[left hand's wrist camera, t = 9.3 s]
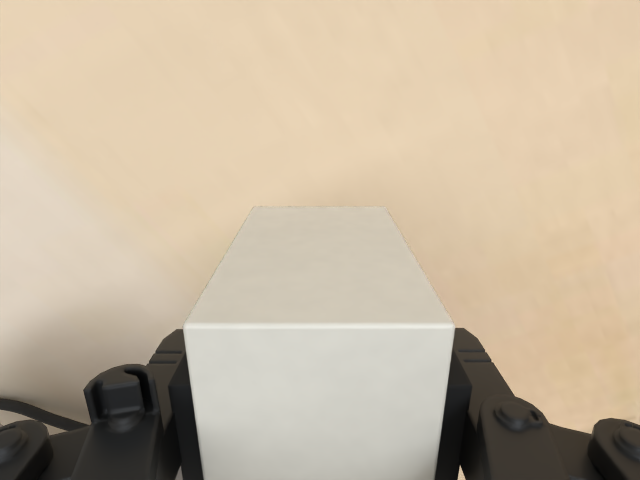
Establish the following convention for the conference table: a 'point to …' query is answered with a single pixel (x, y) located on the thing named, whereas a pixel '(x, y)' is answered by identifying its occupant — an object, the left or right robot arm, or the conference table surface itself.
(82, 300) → the conference table surface
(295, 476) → the brick
